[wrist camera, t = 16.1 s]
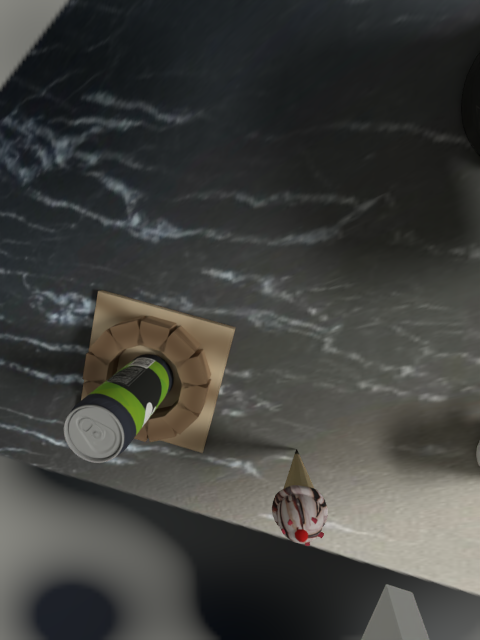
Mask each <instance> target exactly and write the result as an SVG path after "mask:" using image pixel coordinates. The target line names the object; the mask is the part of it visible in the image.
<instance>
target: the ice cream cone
mask: <svg viewBox="0 0 480 640" xmlns="http://www.w3.org/2000/svg"><path fill="white" fill-rule="evenodd" d="M272 513H273V517H274V519H275V522H276V523H277V525H278V526H280V529H281V531H282V532H283V534H284V535H285V536H286V537H287V538H288V539H290V540H292V541H294V542H296V543H305V545H306V546H307V545H310V542H311V541H313V540H314V539H315V538H317V536H318V537H320V538H322V537H323V536H324V533H322V532H321V530H322V527H323V526H324V525H325V522H326V520H327V516H328V511H327V505H326V503H325V500H324V498H323V496H322V495H321V493H320V492H319V491H318V490H316V489H314V487H313V485H312V482H311V480H310V478H309V476H308V473H307V471H306V469H305V467H304V464H303V462H302V460H301V458H300V455H299V453H298V451H297V449H296V452H295V455H294V458H293V461H292V464H291V468H290V471H289V474H288V477H287V480H286V483H285V486H284V489H283V490H281V491H279V492H278V493H277V494H276V495H275V498H274V501H273V505H272Z"/></svg>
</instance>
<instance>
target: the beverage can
mask: <svg viewBox="0 0 480 640" xmlns="http://www.w3.org/2000/svg"><path fill="white" fill-rule="evenodd" d="M173 381H174V377H173V372H172V370H171V368H170V366H169V364H168V363H167V362H166V361H165V360H164V359H162V358H161V357H159V356H156V355H153V354H144V355H140V356H138V357H136V358H135V359H133V360H132V361H131V362H130V363H128V364H127V365H126V366H124V367H123V368H122V369H121V370H119V371H118V372H117V373H116V374H114V375H113V376H112V377H110V378H109V379H108V380H107V381H105V382H104V383H103V384H102V385H100V386H99V387H98V388H96V389H95V390H94V391H93V392H91V393H90V394H89V395H88V396H86V397H85V398H84V399H82V400H81V401H80V402H79V403H77V404H76V405H75V406H74V408H73V409H72V411H71V413H70V414H69V415H68V417H67V419H66V421H65V424H64V435H65V439H66V442H67V444H68V445H69V447H70V448H71V450H72V451H73V452H74V453H75V454H76V455H78V456H79V457H81V458H82V459H84V460H87V461H90V462H95V463H102V462H107V461H109V460H111V459H113V458H114V457H116V456H117V455H119V454H120V453H122V452H123V451H124V450H125V449H126V448H127V447H128V445H129V444H130V443H131V441H132V440H133V439H134V437H135V436H136V435H137V433H138V432H139V431H140V430H141V428H142V427H143V426H144V424H145V423H146V422H147V420H148V419H149V418H150V416H151V415H152V414H153V413H154V411H155V410H156V409H157V407H158V406H159V405H160V403H161V402H162V401H163V399H164V398H165V397H166V395H167V394H168V393H169V392H170V390H171V388H172V386H173Z"/></svg>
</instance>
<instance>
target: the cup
mask: <svg viewBox="0 0 480 640" xmlns="http://www.w3.org/2000/svg"><path fill="white" fill-rule="evenodd" d="M476 457H477V462H478V465H479V467H480V441H479V443H478V446H477V450H476Z"/></svg>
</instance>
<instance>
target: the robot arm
mask: <svg viewBox="0 0 480 640" xmlns="http://www.w3.org/2000/svg"><path fill="white" fill-rule="evenodd" d="M462 120H463V125H464V129H465V132H466V134H467V137H468V139H469V141H470V143H471V144H472V146H473V147H474V149H475V150H476V151H477V153H478V154H479V155H480V53H479V55H478V56H477V58H476V59H475V61H474V63H473V65H472V67H471V69H470V71H469V74H468V76H467V79H466V82H465V86H464V90H463V95H462ZM361 640H429V637H428V634H427V632H426V629H425V626H424V623H423V621H422V618H421V615H420V612H419V610H418V607H417V604H416V601H415V598H414V596H413V593H412V592H409V591H406V590H403V589H400V588H397V587H394V586H390V585H387V584H386V586H385V588H384V590H383V592H382V595H381V597H380V599H379V602H378V603H377V606H376V608H375V610H374V613H373V615H372V617H371V619H370V621H369V624H368V626H367V628H366V630H365V633H364V635H363V637H362V639H361Z"/></svg>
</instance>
